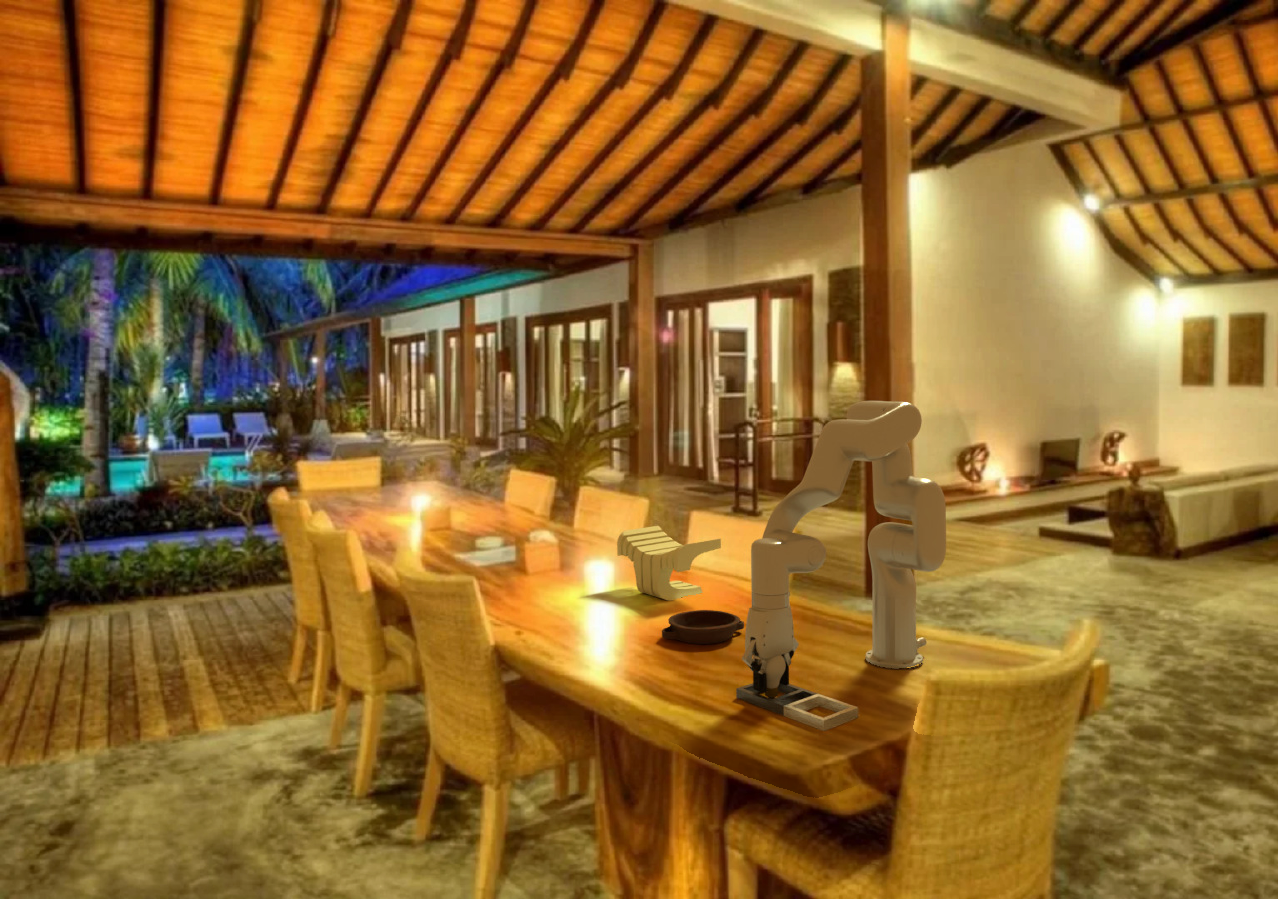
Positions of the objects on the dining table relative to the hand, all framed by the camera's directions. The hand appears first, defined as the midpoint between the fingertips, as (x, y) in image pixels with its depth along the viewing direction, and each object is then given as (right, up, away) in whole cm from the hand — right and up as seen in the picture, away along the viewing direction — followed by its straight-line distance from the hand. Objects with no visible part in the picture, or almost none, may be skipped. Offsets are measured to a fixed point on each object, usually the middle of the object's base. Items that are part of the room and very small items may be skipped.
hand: (771, 686), depth 187 cm
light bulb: (0, -3, 0) cm, 3 cm away
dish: (-10, +1, +44) cm, 45 cm away
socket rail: (+4, -3, -4) cm, 7 cm away
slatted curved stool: (-18, +5, +89) cm, 91 cm away
